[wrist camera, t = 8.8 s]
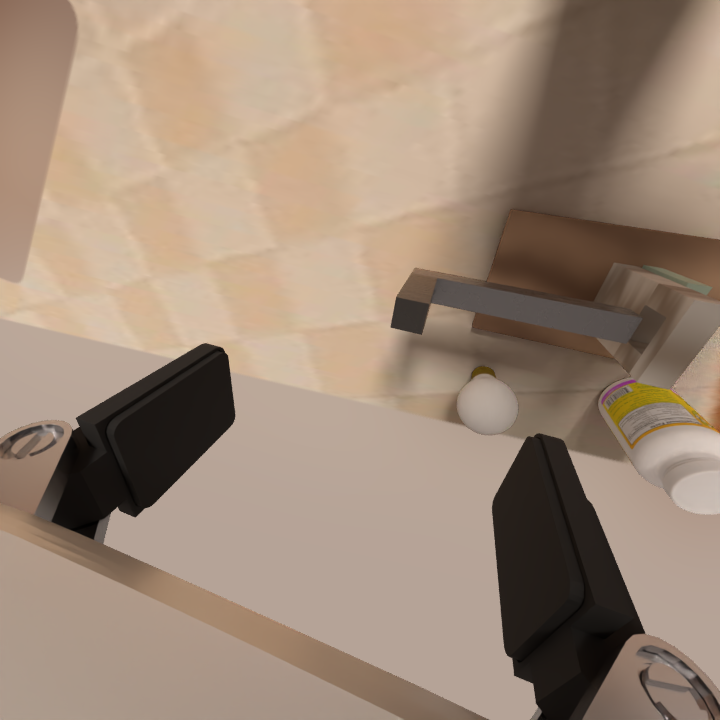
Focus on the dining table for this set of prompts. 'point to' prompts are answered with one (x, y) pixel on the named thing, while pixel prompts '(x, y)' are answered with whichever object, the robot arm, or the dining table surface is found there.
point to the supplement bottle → (666, 442)
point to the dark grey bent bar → (509, 306)
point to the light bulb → (487, 403)
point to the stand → (613, 288)
